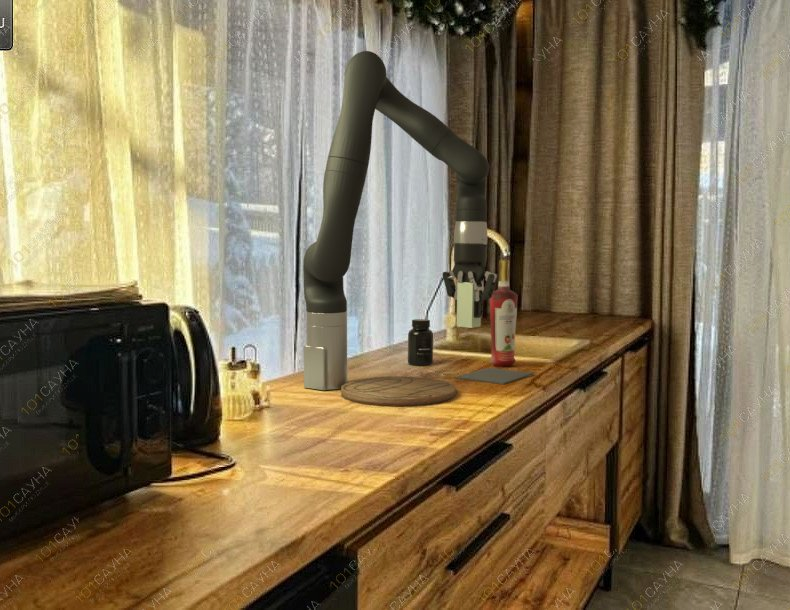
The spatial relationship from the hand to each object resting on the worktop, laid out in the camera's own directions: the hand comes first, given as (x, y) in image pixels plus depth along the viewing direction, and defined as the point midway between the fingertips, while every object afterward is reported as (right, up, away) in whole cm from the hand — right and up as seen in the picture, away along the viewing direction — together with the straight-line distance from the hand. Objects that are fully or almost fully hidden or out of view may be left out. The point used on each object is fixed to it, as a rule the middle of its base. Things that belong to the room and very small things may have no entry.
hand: (468, 316), depth 173 cm
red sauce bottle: (+12, -14, +28) cm, 33 cm away
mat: (+8, -15, +12) cm, 21 cm away
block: (0, -2, 0) cm, 2 cm away
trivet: (-16, -17, -9) cm, 25 cm away
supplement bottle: (-10, -14, +30) cm, 34 cm away
